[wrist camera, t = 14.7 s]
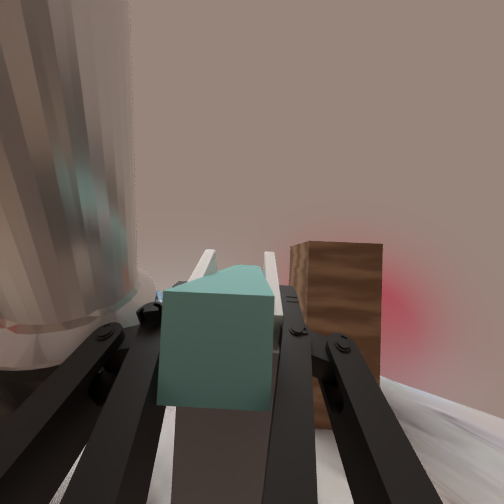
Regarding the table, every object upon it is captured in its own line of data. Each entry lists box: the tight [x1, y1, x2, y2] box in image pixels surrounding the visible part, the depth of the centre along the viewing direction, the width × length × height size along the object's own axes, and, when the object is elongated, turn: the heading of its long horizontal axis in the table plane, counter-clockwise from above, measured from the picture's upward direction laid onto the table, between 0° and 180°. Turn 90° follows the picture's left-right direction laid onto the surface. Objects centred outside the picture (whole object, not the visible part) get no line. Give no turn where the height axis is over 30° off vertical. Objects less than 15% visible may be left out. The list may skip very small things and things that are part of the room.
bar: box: [157, 265, 275, 412], centre depth 20 cm, size 26×4×4 cm, turn 179°
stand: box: [289, 241, 383, 429], centre depth 38 cm, size 16×12×30 cm
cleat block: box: [171, 347, 279, 504], centre depth 18 cm, size 10×8×20 cm
